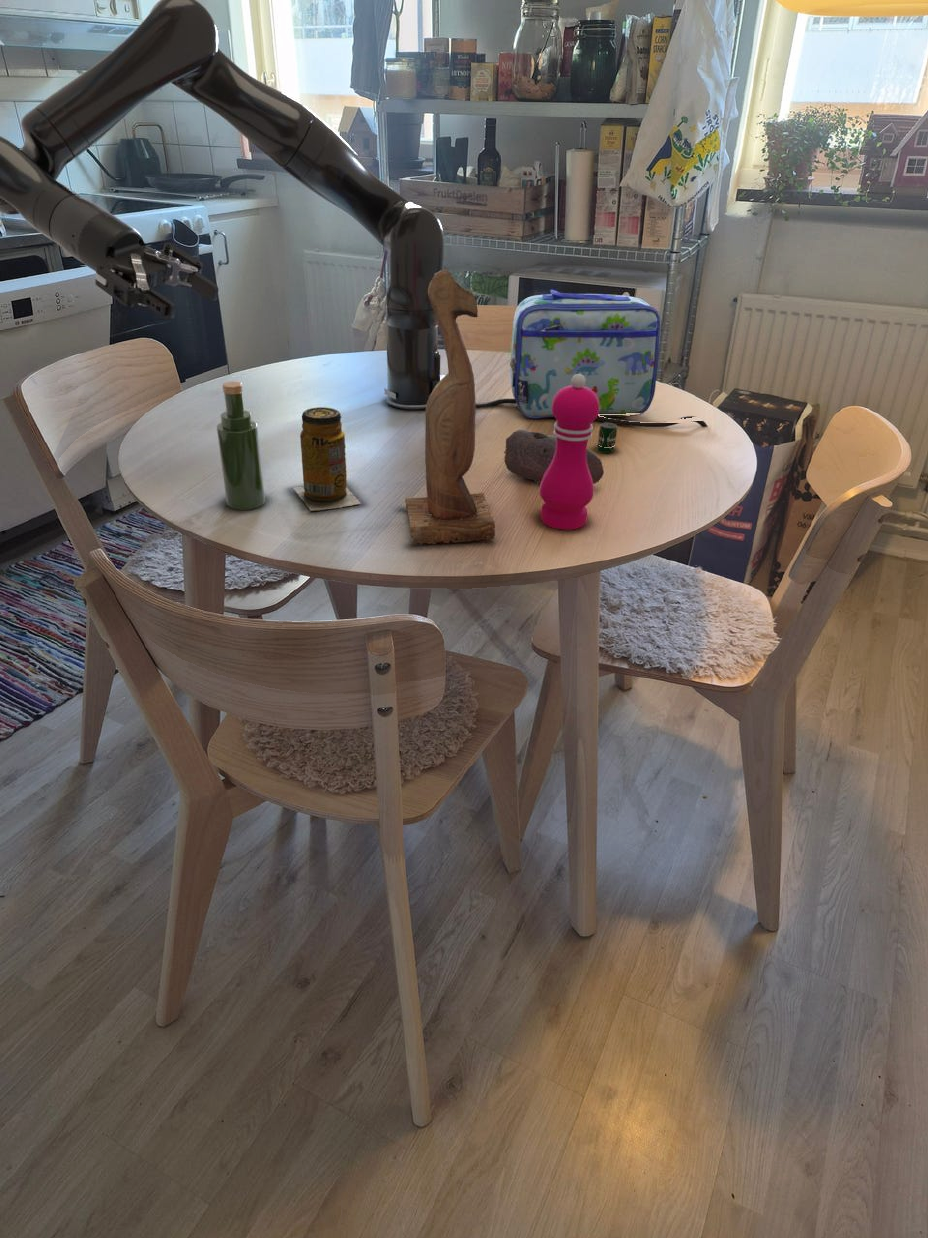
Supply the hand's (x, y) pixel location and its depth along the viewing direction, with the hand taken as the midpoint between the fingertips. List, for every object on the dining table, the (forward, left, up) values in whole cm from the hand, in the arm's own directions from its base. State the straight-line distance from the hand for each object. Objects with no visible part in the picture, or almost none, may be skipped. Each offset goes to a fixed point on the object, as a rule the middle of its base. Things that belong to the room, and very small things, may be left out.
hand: (195, 303), depth 108 cm
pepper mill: (-46, +23, -25) cm, 57 cm away
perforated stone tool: (-49, +10, -25) cm, 56 cm away
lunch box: (-64, -20, -25) cm, 71 cm away
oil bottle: (-4, +10, -24) cm, 27 cm away
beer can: (-62, -1, -25) cm, 67 cm away
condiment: (-15, +10, -25) cm, 30 cm away
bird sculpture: (-30, +22, -25) cm, 45 cm away
